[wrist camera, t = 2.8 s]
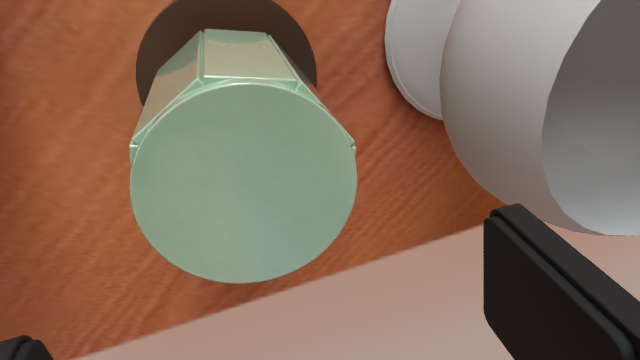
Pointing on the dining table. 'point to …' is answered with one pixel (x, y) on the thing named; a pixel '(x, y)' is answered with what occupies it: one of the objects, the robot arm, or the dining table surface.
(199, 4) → the towel holder
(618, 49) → the chalice
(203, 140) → the green cup
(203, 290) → the dining table surface
